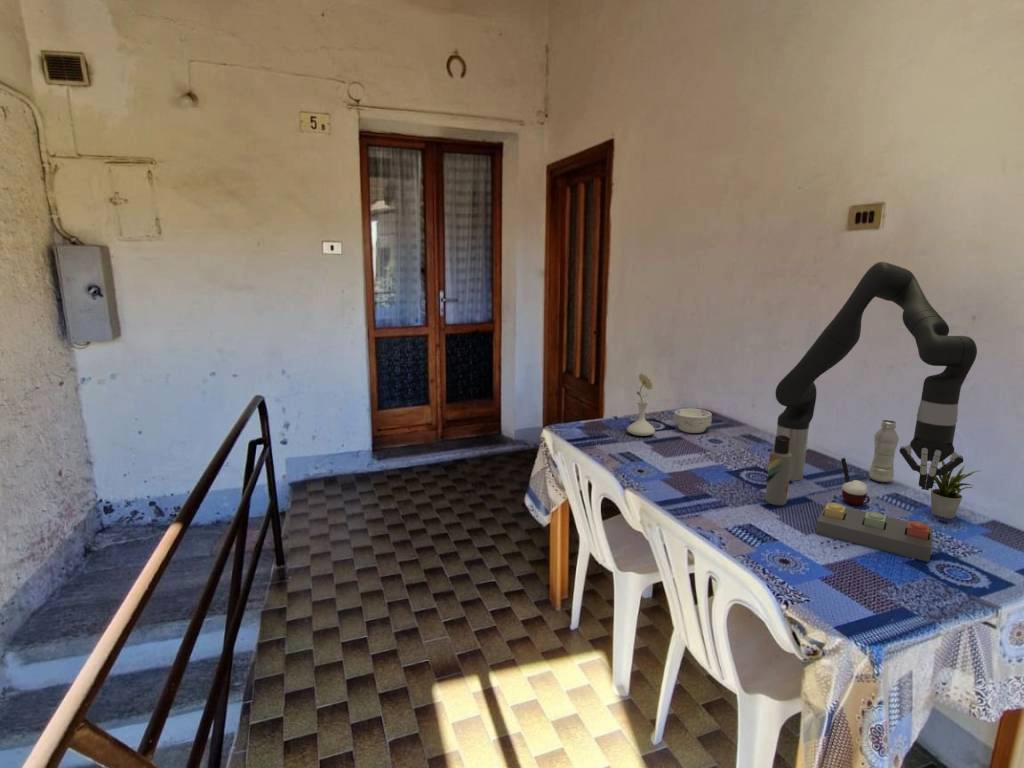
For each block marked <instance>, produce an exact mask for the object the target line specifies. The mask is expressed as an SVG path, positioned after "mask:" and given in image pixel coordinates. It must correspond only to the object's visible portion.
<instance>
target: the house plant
mask: <svg viewBox="0 0 1024 768" xmlns="http://www.w3.org/2000/svg"><path fill="white" fill-rule="evenodd" d="M945 464H946V462H945V460H943V461H942V462H941V465H942V466H944V465H945ZM928 465H929V467H928V469H930V466H931V464H928V463H927V466H928ZM937 469H939V468H938V467H937ZM964 469H965V465H963V466H962V467H961V468H960V470H959V471H958V473H957V474H956V475H954V476H951V475H952V473H953V470H954V469H952V470H951V471H949V472H948V473H946V474H945V475H943V476H942V475H937V476H938V477H939V478H938V477H937V476H935V478H934V484H933V487H935V488H934V489H933V488H932V489H930V507H931V514H932V513H933V514H932V515H934V514H935V515H934V516H936V515H937V516H936V517H939V516H940V517H939V518H942V517H944V519H955V517H956V514H957V511H958V509H959V507H960V504H961V501H962V500H963V495H962V494H960V493H962V491H963V490H966V489H973V487H974V485H973V484H970V483H967V482H966V483H963V482H962V481H963V480H964V479H967V477H969V476H971V475H973V474H974V473H977V472H980V470H974V471H972V472H969V473H967V474H965V473H963V471H964ZM962 473H963V474H962ZM935 484H936V485H937V487H936V485H935ZM962 486H965V487H963V488H961V487H962ZM972 486H973V487H972Z"/></svg>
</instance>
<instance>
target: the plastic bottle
mask: <svg viewBox="0 0 1024 768" xmlns="http://www.w3.org/2000/svg"><path fill="white" fill-rule="evenodd" d="M880 424H881V425H880V427H881V428H880V429H879V430H877V431H876V432H875V434H874V435H873V437H874V439H873V441H874V449H873V450H874V451H873V452H874V453H873V459H872V463H871V466H870V468H869V471H868V473H869V477H870V479H872V480H873V481H875V482H879V483H890V482H892V481H893V480H894V477H895V469H894V464H895V463H894V462H895V455H896V449H897V446H898V443H899V441H900V437H899V435H898V434H897V432H896V430H895V429H896V426H897V422H896V421H894V420H889V419H883V420H881V423H880Z"/></svg>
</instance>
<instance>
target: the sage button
mask: <svg viewBox="0 0 1024 768" xmlns="http://www.w3.org/2000/svg"><path fill="white" fill-rule="evenodd" d="M866 512H867V513H866V516H865V520H864V525H866V526H870V527H874V528H878V529H882V530H884V526H885V519H886V517H887V515H885V514H882V513H881V512H877V511H866Z"/></svg>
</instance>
